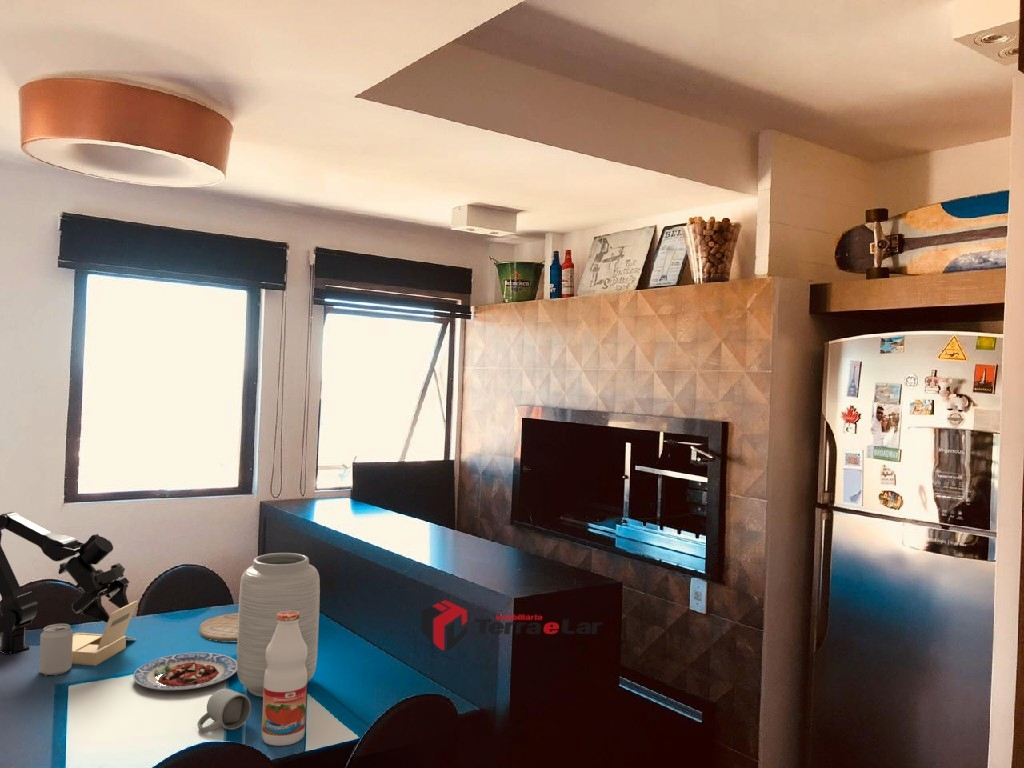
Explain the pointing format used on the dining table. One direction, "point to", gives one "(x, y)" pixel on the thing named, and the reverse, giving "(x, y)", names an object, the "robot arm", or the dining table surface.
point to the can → (56, 649)
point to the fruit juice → (285, 683)
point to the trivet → (220, 628)
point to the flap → (117, 624)
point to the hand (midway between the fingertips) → (120, 617)
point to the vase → (275, 612)
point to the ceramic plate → (185, 671)
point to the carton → (94, 648)
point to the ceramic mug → (226, 710)
